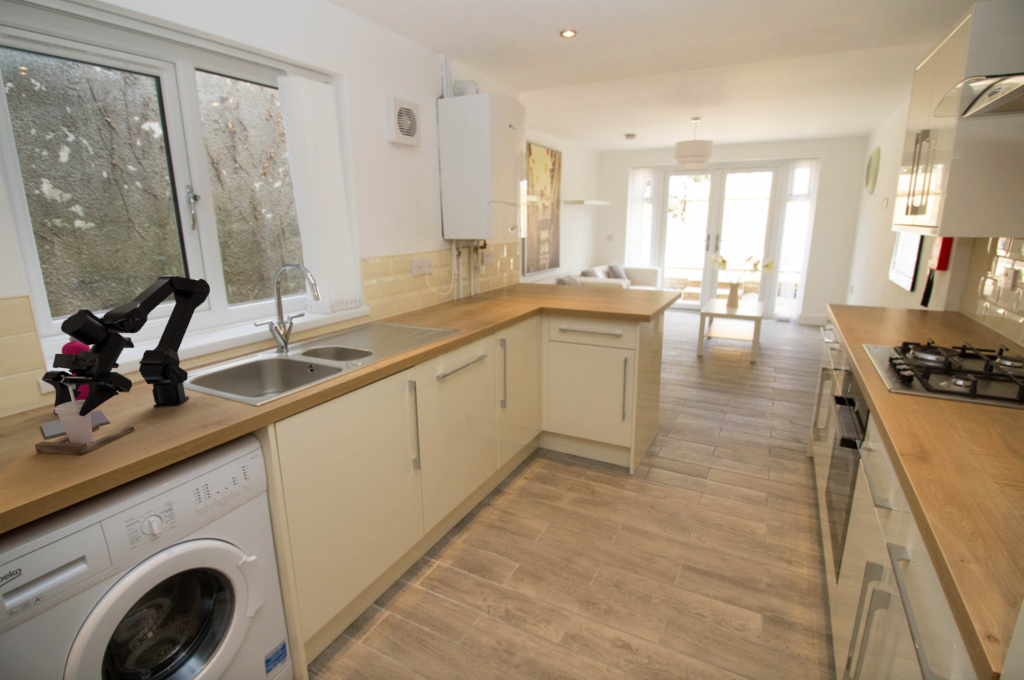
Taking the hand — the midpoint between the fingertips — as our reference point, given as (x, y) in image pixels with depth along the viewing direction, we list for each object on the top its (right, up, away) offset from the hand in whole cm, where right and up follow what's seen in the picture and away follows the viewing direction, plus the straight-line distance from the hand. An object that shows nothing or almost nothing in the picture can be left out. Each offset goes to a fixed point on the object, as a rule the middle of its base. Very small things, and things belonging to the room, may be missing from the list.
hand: (68, 415), depth 111 cm
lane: (+1, -7, +4) cm, 8 cm away
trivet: (-11, -5, +14) cm, 19 cm away
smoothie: (0, -7, +3) cm, 8 cm away
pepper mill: (-20, -1, +29) cm, 35 cm away
